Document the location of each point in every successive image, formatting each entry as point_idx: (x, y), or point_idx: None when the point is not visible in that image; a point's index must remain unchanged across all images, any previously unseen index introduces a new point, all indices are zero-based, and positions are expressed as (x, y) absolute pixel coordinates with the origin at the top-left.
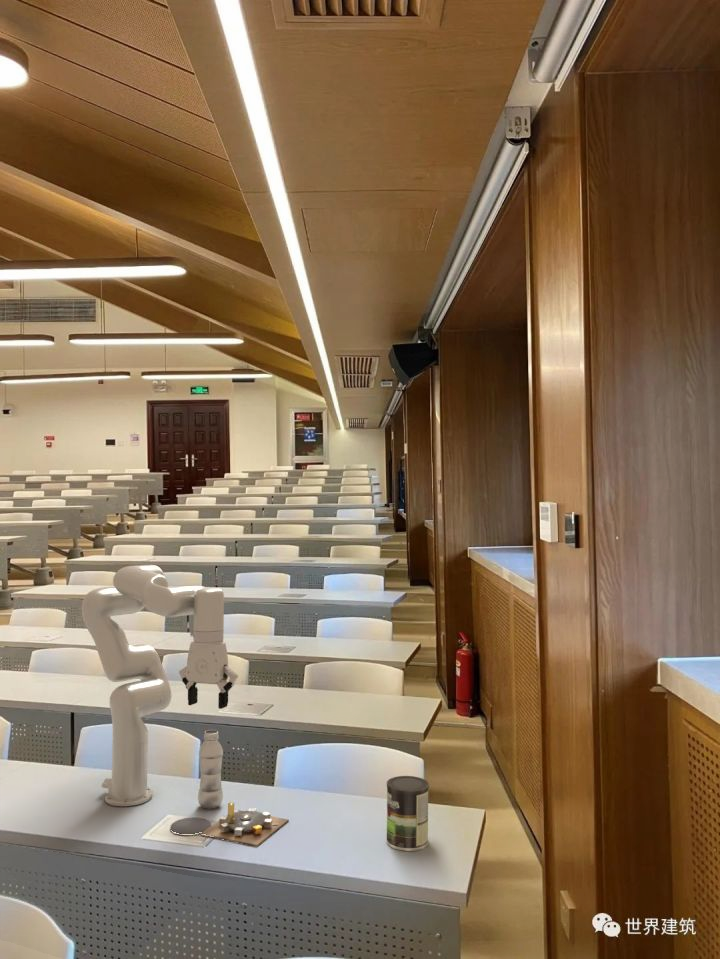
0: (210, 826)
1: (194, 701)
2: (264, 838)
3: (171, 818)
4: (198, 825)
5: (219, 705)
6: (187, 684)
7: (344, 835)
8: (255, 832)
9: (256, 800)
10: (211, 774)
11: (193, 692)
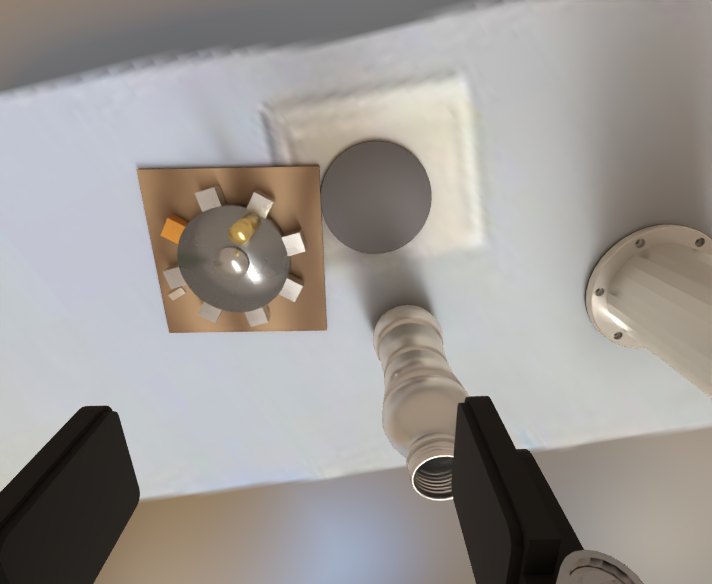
0: (325, 220)
1: (458, 467)
2: (146, 212)
3: (460, 225)
4: (355, 207)
5: (78, 422)
6: None
7: (6, 317)
8: (172, 216)
9: (320, 401)
10: (398, 357)
11: (490, 542)
